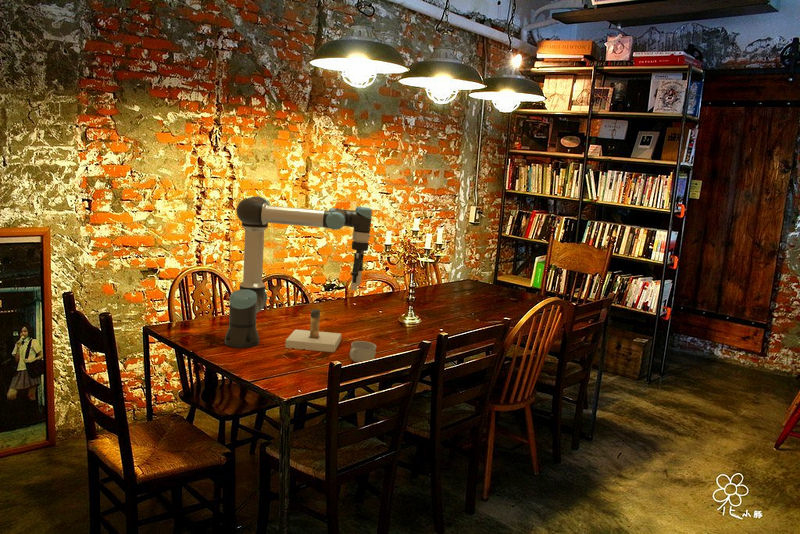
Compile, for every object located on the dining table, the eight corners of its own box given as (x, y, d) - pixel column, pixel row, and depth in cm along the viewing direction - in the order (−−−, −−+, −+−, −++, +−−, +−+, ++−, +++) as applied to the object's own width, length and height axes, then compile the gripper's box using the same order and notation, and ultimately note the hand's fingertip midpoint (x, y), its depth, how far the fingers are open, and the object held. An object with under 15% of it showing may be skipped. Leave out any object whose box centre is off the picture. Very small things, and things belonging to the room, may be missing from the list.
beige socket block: (285, 347, 279) (285, 340, 278) (294, 336, 296) (295, 329, 296) (334, 352, 277) (334, 344, 277) (340, 340, 295) (341, 333, 295)
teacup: (363, 356, 274) (364, 339, 273) (380, 363, 267) (381, 345, 266) (339, 362, 265) (340, 344, 263) (355, 369, 257) (356, 351, 256)
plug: (308, 345, 285) (310, 311, 282) (310, 342, 289) (312, 308, 286) (317, 345, 285) (319, 311, 282) (319, 343, 289) (320, 309, 286)
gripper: (365, 245, 271) (360, 293, 274) (371, 239, 295) (366, 283, 299) (348, 243, 271) (343, 291, 274) (355, 237, 296) (351, 281, 299)
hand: (355, 287), depth 286 cm, fingers open, 13 cm apart
